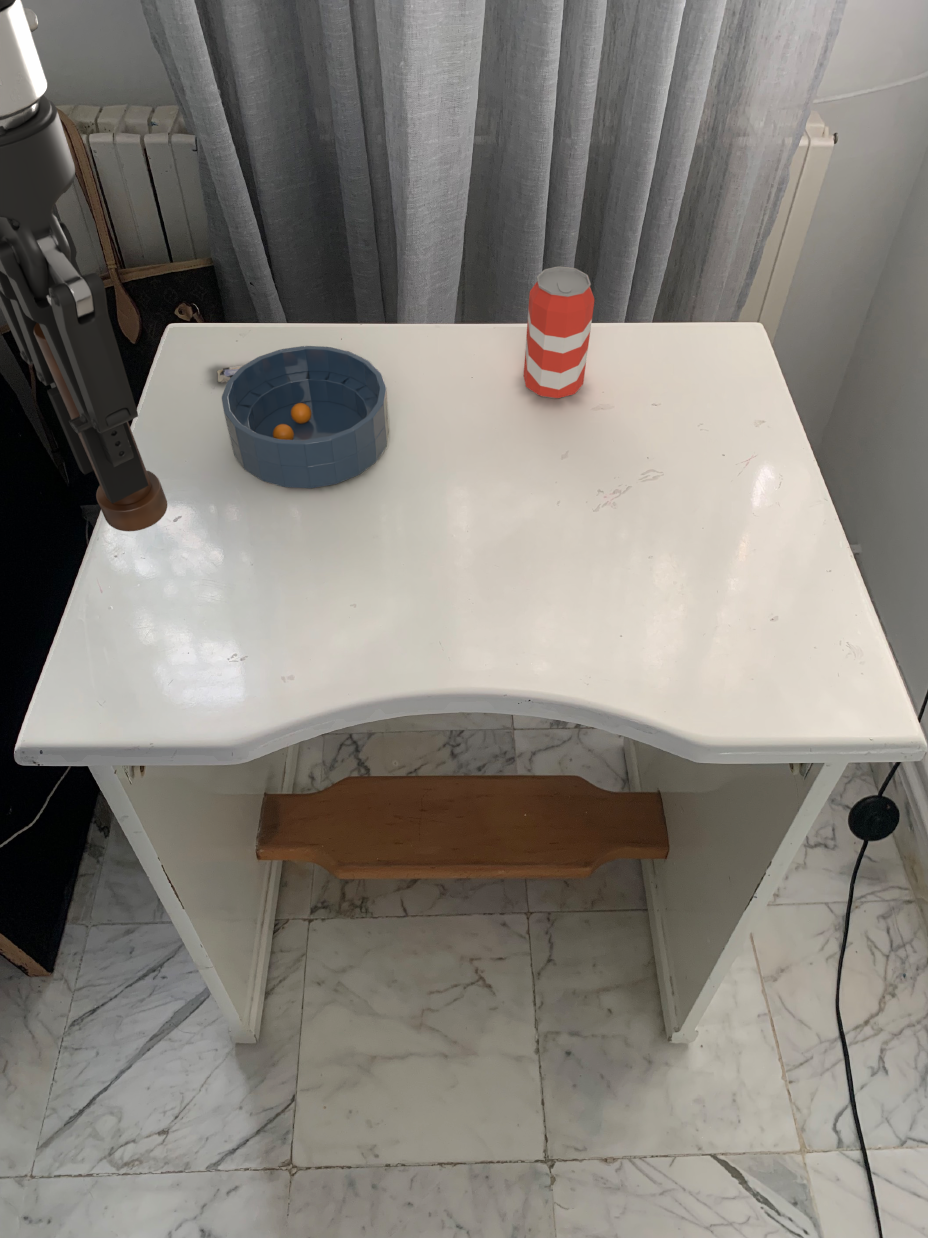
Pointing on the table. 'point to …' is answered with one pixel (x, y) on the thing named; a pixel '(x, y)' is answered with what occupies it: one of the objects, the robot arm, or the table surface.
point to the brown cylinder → (120, 515)
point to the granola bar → (227, 373)
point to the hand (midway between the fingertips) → (113, 476)
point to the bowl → (335, 434)
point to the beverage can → (558, 332)
